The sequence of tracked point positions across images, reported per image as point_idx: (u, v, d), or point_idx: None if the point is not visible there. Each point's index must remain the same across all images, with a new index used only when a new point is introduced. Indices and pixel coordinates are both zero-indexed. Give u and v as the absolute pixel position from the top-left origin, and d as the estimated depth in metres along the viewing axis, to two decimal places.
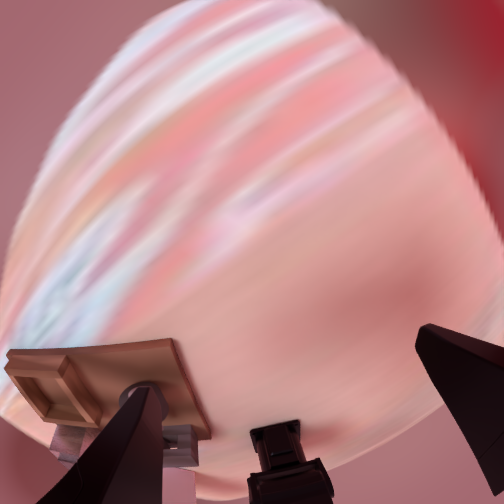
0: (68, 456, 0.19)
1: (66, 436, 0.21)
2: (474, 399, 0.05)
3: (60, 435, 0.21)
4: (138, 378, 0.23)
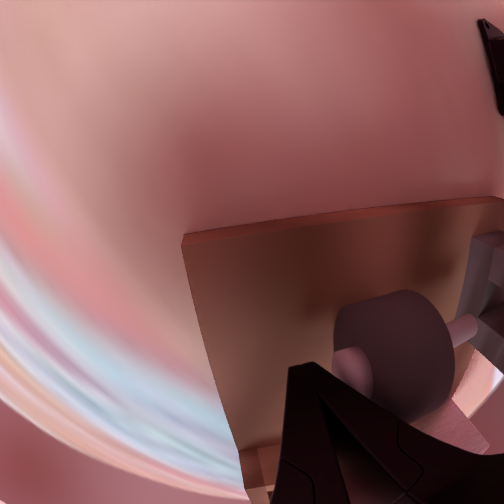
0: None
1: None
2: (345, 467, 0.05)
3: None
4: (306, 344, 0.10)
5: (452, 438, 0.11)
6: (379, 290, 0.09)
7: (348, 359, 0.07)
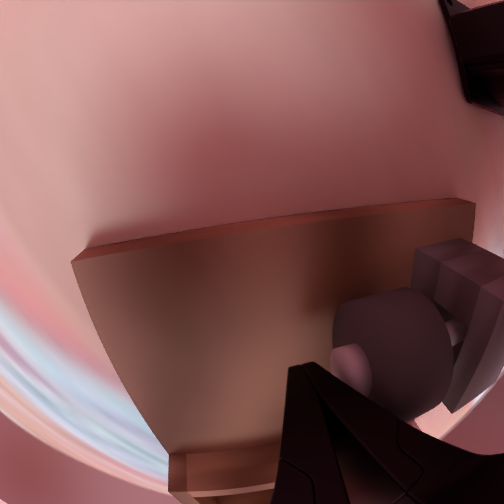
0: None
1: None
2: (345, 467, 0.05)
3: None
4: (202, 360, 0.09)
5: None
6: (280, 310, 0.09)
7: (347, 356, 0.07)
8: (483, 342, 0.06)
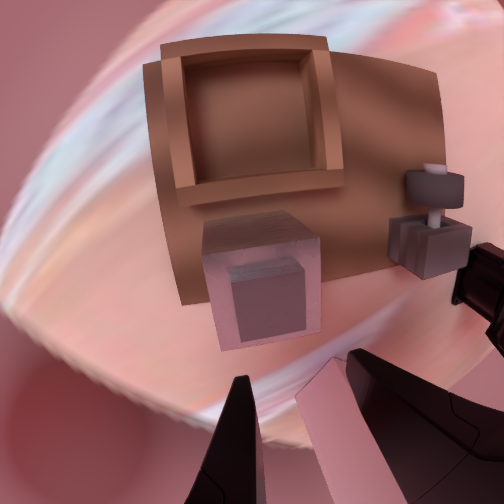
0: (269, 262, 0.12)
1: (247, 229, 0.14)
2: (400, 444, 0.05)
3: (226, 233, 0.14)
4: (404, 106, 0.16)
5: None
6: (423, 145, 0.17)
7: None
8: (458, 229, 0.15)
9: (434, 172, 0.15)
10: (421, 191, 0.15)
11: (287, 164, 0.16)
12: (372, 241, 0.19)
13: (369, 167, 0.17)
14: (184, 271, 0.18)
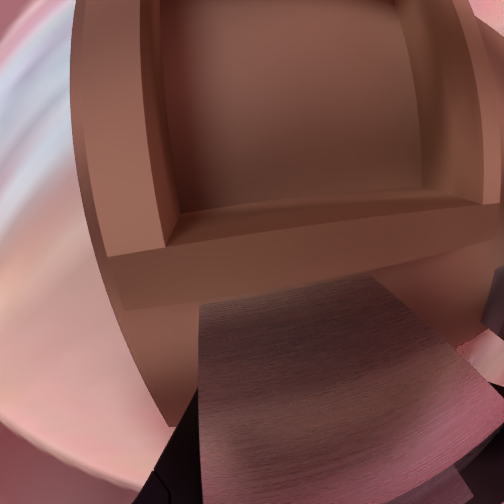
0: (401, 500, 0.02)
1: (325, 376, 0.04)
2: None
3: (266, 390, 0.04)
4: None
5: None
6: None
7: None
8: None
9: None
10: None
11: (383, 179, 0.07)
12: (472, 306, 0.10)
13: None
14: (168, 386, 0.08)
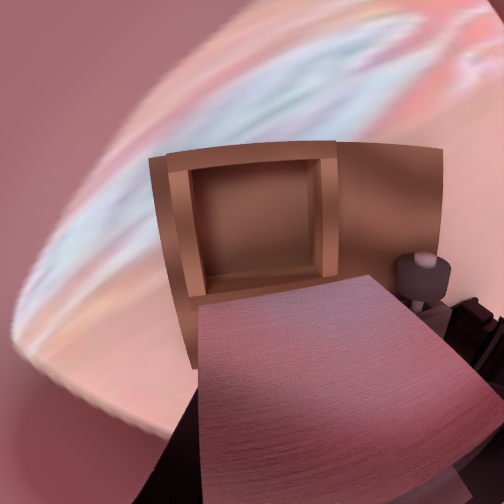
0: (400, 501, 0.02)
1: (324, 378, 0.04)
2: None
3: (266, 391, 0.04)
4: (405, 192, 0.18)
5: None
6: (418, 228, 0.19)
7: (434, 255, 0.17)
8: (438, 313, 0.17)
9: (422, 266, 0.17)
10: (407, 285, 0.17)
11: (287, 261, 0.18)
12: None
13: (363, 257, 0.19)
14: (195, 345, 0.20)
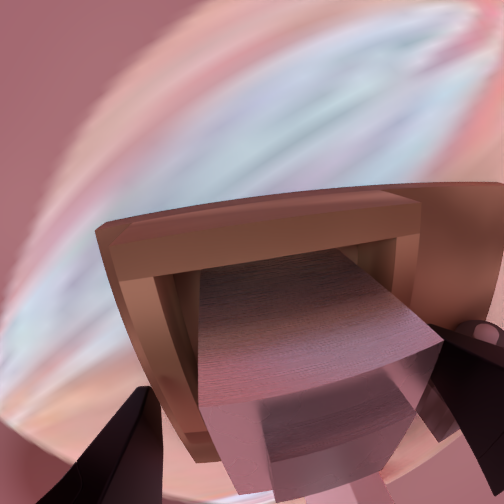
0: (348, 401, 0.05)
1: (289, 307, 0.07)
2: (474, 399, 0.05)
3: (246, 314, 0.07)
4: (472, 249, 0.12)
5: None
6: (477, 289, 0.13)
7: (495, 329, 0.11)
8: None
9: None
10: None
11: None
12: None
13: None
14: (197, 446, 0.13)
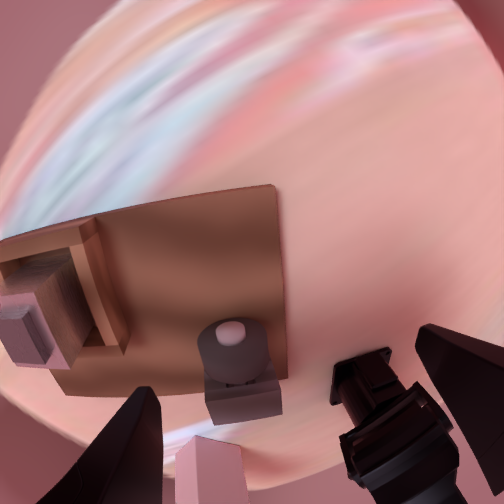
0: (12, 308, 0.10)
1: (24, 276, 0.12)
2: (474, 399, 0.05)
3: (14, 278, 0.12)
4: (210, 252, 0.17)
5: (71, 314, 0.14)
6: (241, 289, 0.19)
7: (244, 328, 0.17)
8: (256, 392, 0.16)
9: (220, 343, 0.16)
10: (202, 361, 0.16)
11: (96, 323, 0.18)
12: (190, 374, 0.20)
13: (170, 322, 0.19)
14: (59, 378, 0.19)
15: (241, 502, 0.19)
